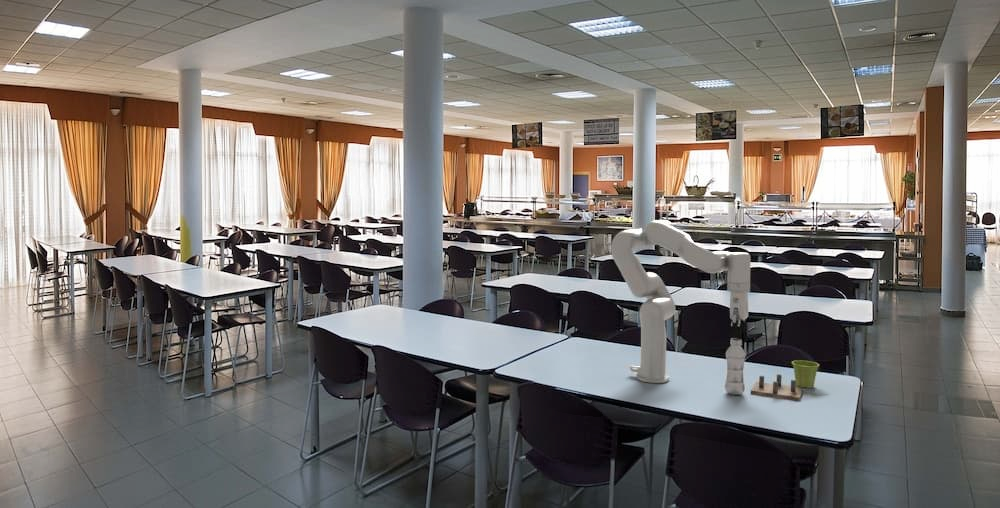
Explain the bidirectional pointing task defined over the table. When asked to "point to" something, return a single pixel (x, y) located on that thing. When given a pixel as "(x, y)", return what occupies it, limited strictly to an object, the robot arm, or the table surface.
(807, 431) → the table surface
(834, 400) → the table surface
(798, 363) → the plant pot
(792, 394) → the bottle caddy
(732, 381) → the plastic bottle
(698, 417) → the table surface
